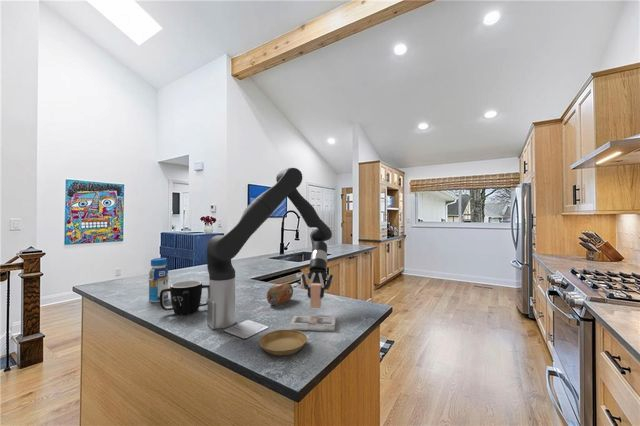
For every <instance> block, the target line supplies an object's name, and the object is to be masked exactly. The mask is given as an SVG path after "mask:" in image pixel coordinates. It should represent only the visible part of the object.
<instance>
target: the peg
mask: <svg viewBox="0 0 640 426" xmlns="http://www.w3.org/2000/svg"><path fill="white" fill-rule="evenodd" d="M320 293H321V283H311V292H310V294H311V298H309V299H310V303H309V304H310V309H311V308H313V309H321V307H322V299H320Z"/></svg>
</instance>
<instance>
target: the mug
mask: <svg viewBox="0 0 640 426" xmlns="http://www.w3.org/2000/svg"><path fill="white" fill-rule="evenodd" d="M169 286H170V287H168V289H163V290H162V291H161V292H160V302H159V304H160V307H161V309H162V310H163V311H172V310H173V311H172V312H173V313H174V314H175V315H177V316H185V315H186V316H187V315H192V314H194V313H196V312H198V310H200V309H199V308H200V307H205V306H207V300H208V299H209V284H203V282H202V281H200V280H183V281H178V282H174V283H172V284H170V285H169ZM203 289H207V299H206V301H205V302H201V301H202V300H201V299H202V295H203V294H202V293H203V292H202V291H203ZM164 292H168V293H169V292H170V301H171V306H166V304H165V301H164Z"/></svg>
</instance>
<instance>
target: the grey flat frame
mask: <svg viewBox="0 0 640 426" xmlns="http://www.w3.org/2000/svg"><path fill="white" fill-rule="evenodd" d="M289 330H296V331H318V332H319V331H321V332H326V331H327V332H335V331H336V316H318V315H317V316H315V315H314V316H313V315H311V316H310V315H293V317H292V319H291V321H290V322H289Z"/></svg>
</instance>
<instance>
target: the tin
mask: <svg viewBox="0 0 640 426" xmlns="http://www.w3.org/2000/svg"><path fill="white" fill-rule="evenodd" d="M293 293H294V288H293V286H292V285H291V283H286V282H285V283H284V282H283V283H280V284H277V285H274V286H271V287H270V288H269V289H268V290H267V293H266V300H267V303H268V304H270V305H272V306H275V307H276V306H279V305H281V304H282V305H283V304H284V303H288V302H289V301H291V299H292V297H293Z"/></svg>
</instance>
